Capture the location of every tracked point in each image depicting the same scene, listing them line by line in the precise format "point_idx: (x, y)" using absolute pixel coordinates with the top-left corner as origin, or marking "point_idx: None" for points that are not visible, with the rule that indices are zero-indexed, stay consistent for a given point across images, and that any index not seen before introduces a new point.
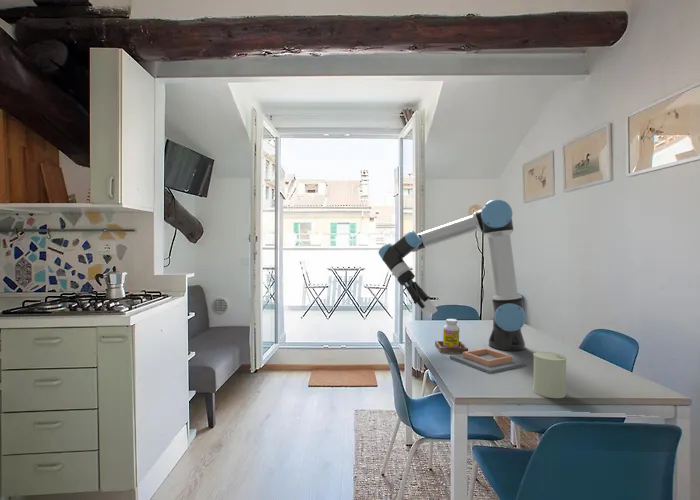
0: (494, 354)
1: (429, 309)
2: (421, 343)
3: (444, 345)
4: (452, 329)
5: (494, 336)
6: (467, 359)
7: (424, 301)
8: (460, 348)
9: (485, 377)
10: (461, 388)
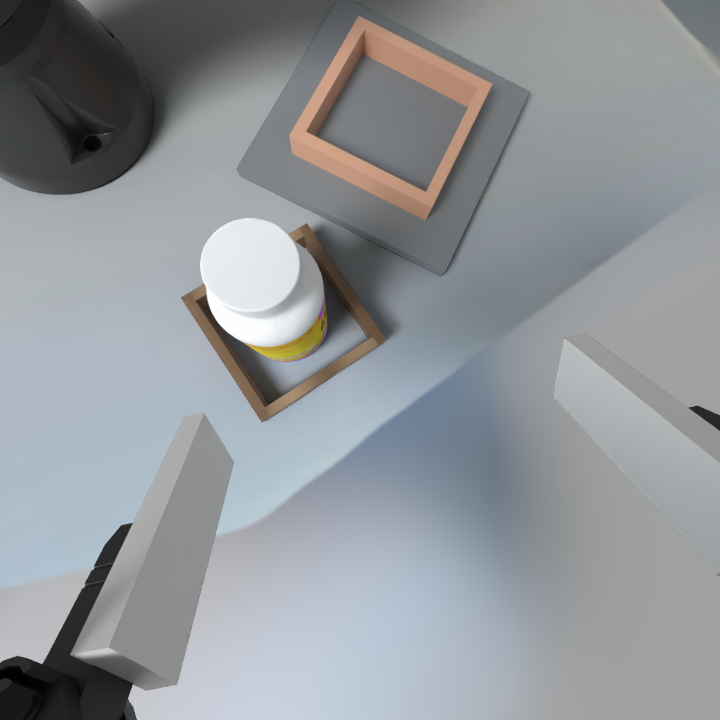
0: (329, 103)
1: (216, 520)
2: (273, 500)
3: (319, 343)
4: (316, 263)
5: (83, 109)
6: (447, 193)
7: (129, 704)
8: (328, 255)
9: (570, 104)
10: (714, 141)
